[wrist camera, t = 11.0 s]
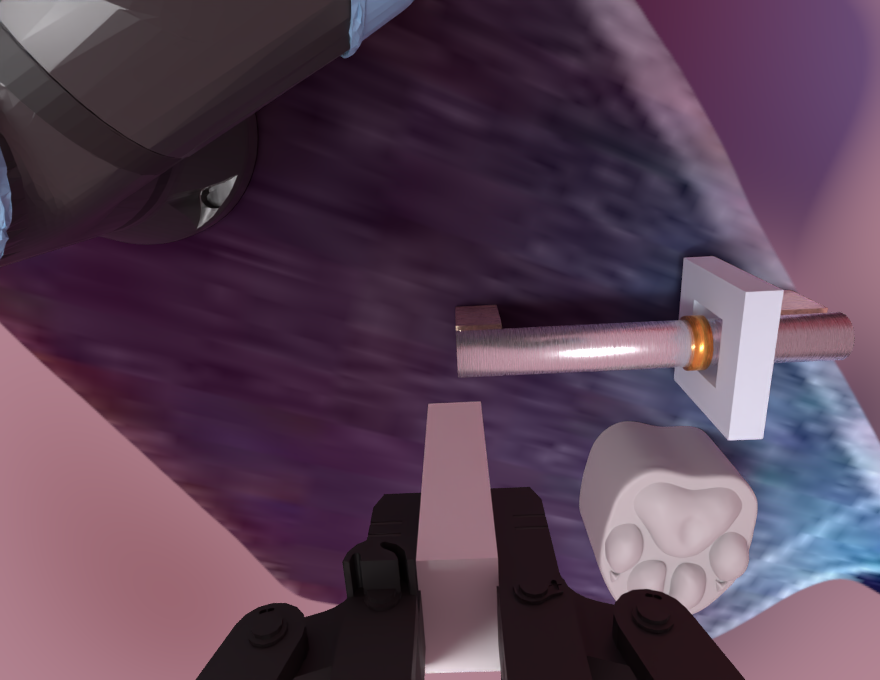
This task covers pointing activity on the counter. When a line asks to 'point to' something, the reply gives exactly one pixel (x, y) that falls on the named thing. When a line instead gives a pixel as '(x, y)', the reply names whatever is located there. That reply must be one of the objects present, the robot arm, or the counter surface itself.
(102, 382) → the counter surface
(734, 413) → the white square holed plate
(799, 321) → the pipe rig
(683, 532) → the lumpy-topped squat cylinder
